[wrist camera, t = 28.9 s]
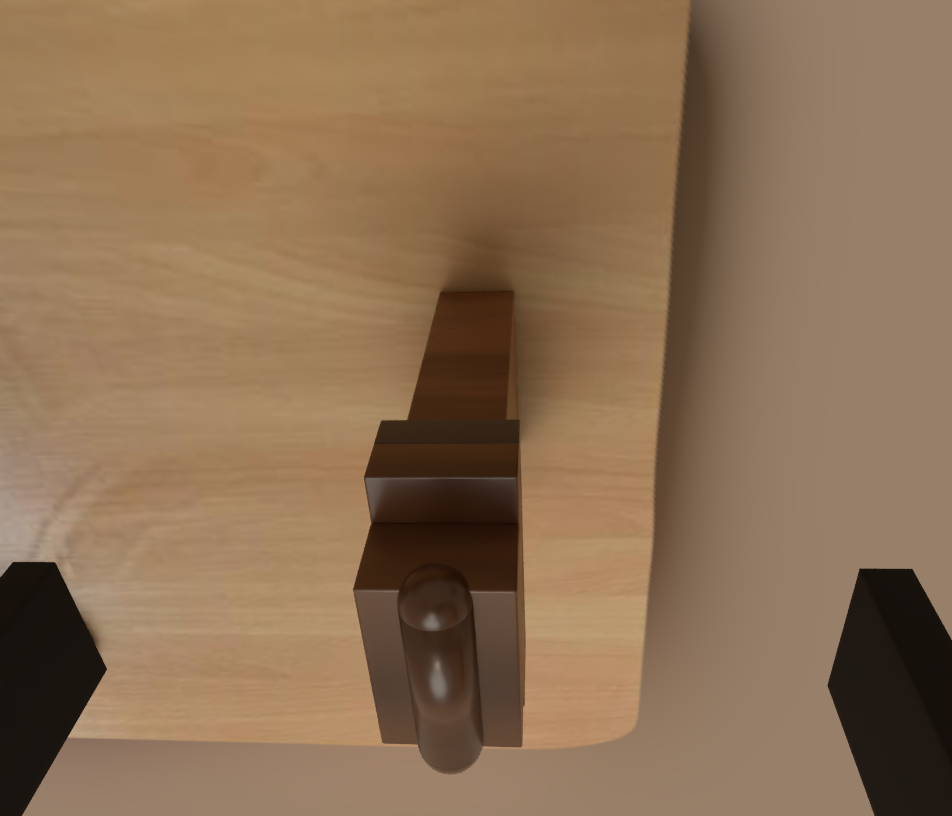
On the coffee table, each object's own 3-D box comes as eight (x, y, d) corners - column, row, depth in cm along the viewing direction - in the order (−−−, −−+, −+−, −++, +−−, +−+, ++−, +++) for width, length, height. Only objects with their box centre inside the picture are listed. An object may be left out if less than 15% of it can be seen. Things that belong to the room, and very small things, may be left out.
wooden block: (439, 292, 41) (400, 442, 29) (514, 290, 41) (505, 441, 29) (452, 445, 47) (423, 624, 35) (518, 445, 46) (512, 626, 34)
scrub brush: (380, 419, 29) (334, 570, 22) (519, 418, 28) (514, 572, 22) (411, 638, 35) (382, 806, 29) (525, 640, 35) (522, 811, 28)
